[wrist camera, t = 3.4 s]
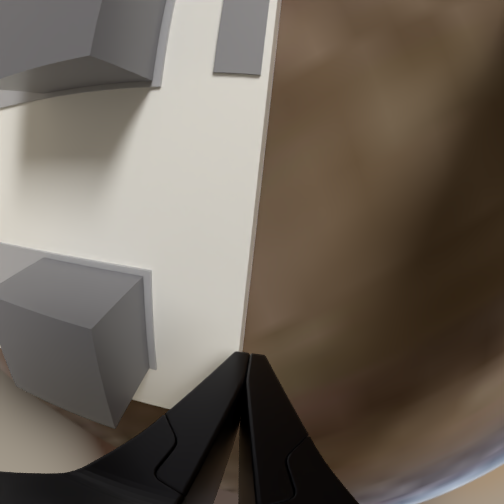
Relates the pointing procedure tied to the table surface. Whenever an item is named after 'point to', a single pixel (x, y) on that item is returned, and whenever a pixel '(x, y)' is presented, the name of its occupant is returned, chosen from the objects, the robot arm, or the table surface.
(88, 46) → the tab middle
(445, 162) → the table surface
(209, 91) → the switch panel
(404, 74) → the table surface
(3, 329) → the tab
